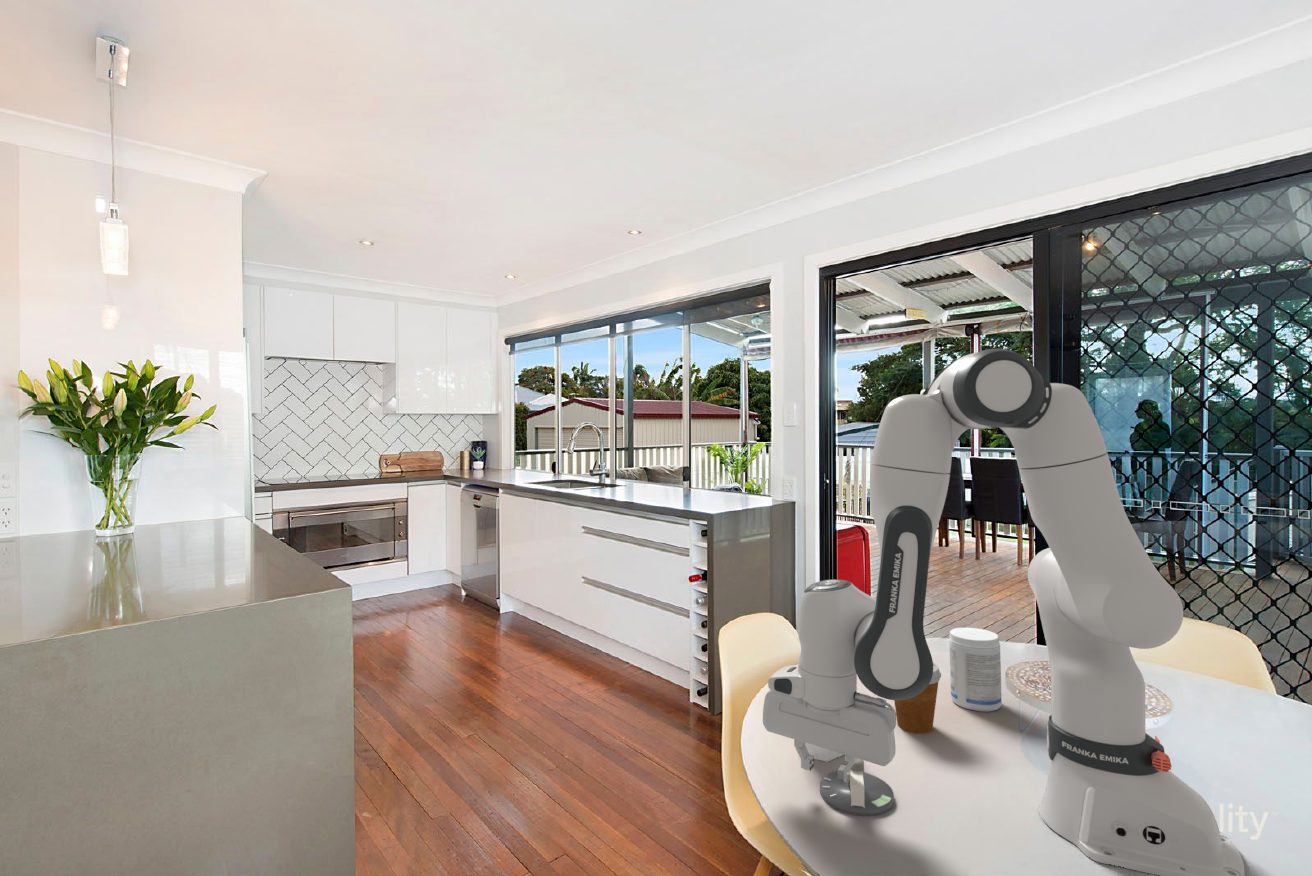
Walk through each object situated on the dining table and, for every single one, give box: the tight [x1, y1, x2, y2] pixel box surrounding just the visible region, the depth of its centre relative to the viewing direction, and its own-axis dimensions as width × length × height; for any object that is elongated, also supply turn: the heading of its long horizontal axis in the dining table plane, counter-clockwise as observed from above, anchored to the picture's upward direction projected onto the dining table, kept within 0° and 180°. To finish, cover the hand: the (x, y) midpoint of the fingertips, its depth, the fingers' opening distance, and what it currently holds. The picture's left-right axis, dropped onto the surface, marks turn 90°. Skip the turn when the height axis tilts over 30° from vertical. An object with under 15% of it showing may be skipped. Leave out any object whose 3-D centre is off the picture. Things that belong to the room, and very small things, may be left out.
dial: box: [819, 770, 895, 817], centre depth 99 cm, size 11×11×1 cm
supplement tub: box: [948, 627, 1003, 713], centre depth 133 cm, size 10×10×15 cm
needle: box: [847, 759, 865, 807], centre depth 97 cm, size 6×2×4 cm, turn 165°
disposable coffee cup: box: [893, 662, 942, 735], centre depth 123 cm, size 10×10×12 cm
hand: (825, 774), depth 99 cm, fingers open, 5 cm apart
